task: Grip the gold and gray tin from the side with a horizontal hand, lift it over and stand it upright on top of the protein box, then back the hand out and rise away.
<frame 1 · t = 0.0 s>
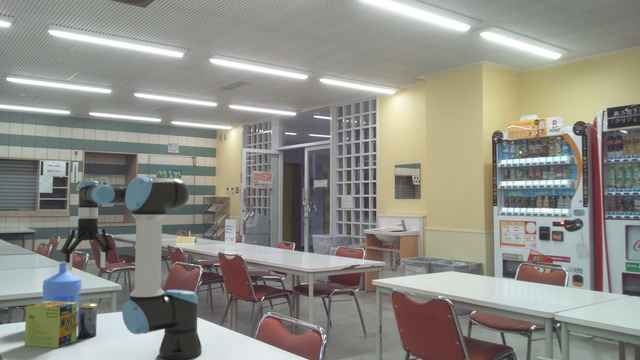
hand: (86, 269, 205), 28 cm above the table, tool pointing down, fingers open, 13 cm apart
protein box: (51, 344, 195), on the table
water jug: (61, 326, 223), on the table
gold and gray tin: (87, 336, 206), on the table
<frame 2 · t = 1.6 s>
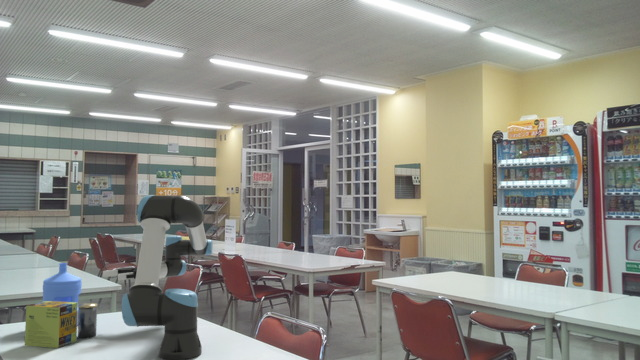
hand: (110, 275, 214), 24 cm above the table, tool horizontal, fingers open, 13 cm apart
nothing on the table moved.
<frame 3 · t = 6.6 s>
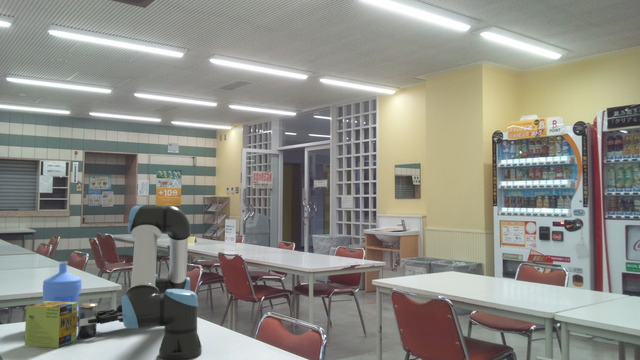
hand: (75, 321, 202), 7 cm above the table, tool horizontal, fingers closed on gold and gray tin, 7 cm apart
gold and gray tin: (87, 336, 206), on the table, touching gripper
everything else where it was.
when the fingers open (25 cm above the table, at t = 11.1 s): gold and gray tin drops 3 cm, resting on protein box.
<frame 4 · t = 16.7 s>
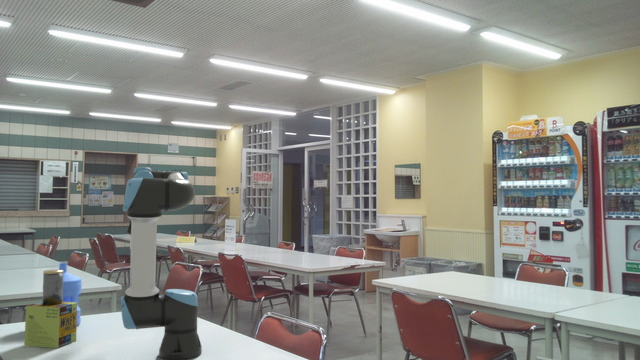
hand: (141, 250, 218), 35 cm above the table, tool pointing down, fingers open, 13 cm apart
protein box: (50, 344, 195), on the table, touching gold and gray tin
gold and gray tin: (52, 303, 196), point 15 cm above the table, touching protein box
everything else where it was.
at the end: gold and gray tin inside the target area on the protein box (0.1 cm from its centre), point 15.7 cm above the protein box's base; gold and gray tin tilted 0°; the gripper is holding nothing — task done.
